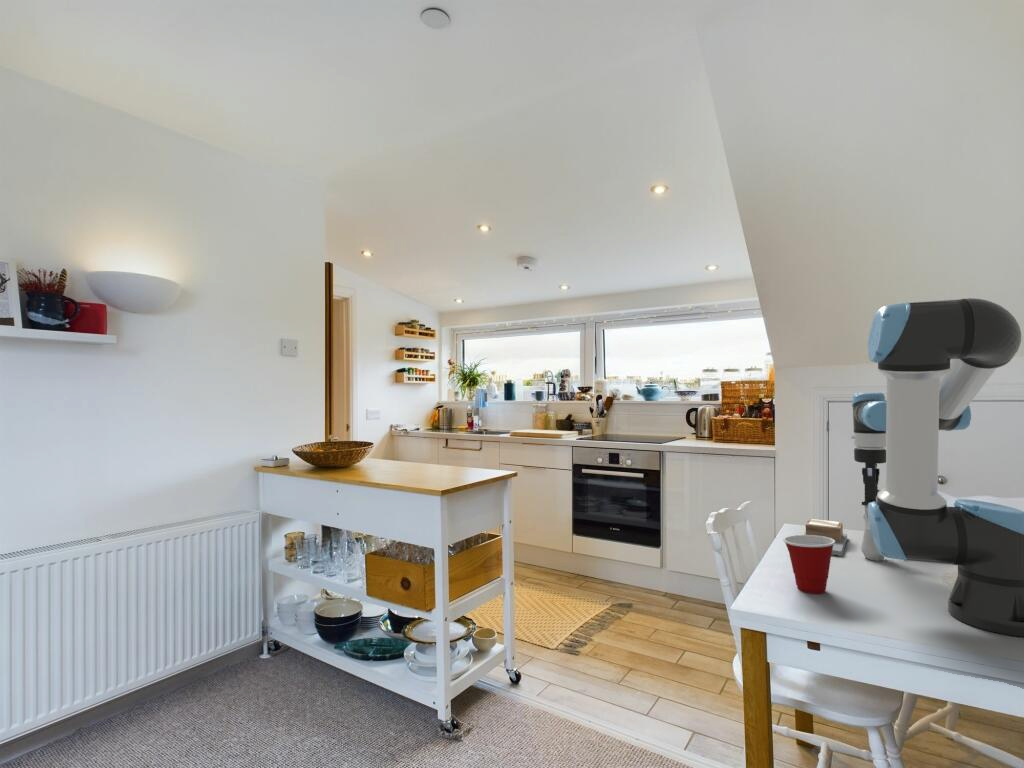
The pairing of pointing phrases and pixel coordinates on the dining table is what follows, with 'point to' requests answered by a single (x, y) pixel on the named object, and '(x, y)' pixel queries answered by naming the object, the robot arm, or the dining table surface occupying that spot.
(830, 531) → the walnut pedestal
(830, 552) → the plastic cup
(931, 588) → the dining table surface
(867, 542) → the salt shaker
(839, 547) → the build plate
